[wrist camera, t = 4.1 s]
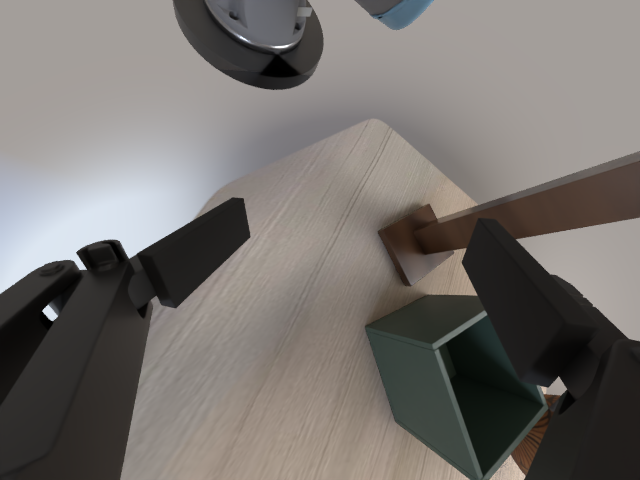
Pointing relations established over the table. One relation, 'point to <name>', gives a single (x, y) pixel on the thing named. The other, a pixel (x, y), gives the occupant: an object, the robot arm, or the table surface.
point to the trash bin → (454, 382)
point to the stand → (518, 215)
